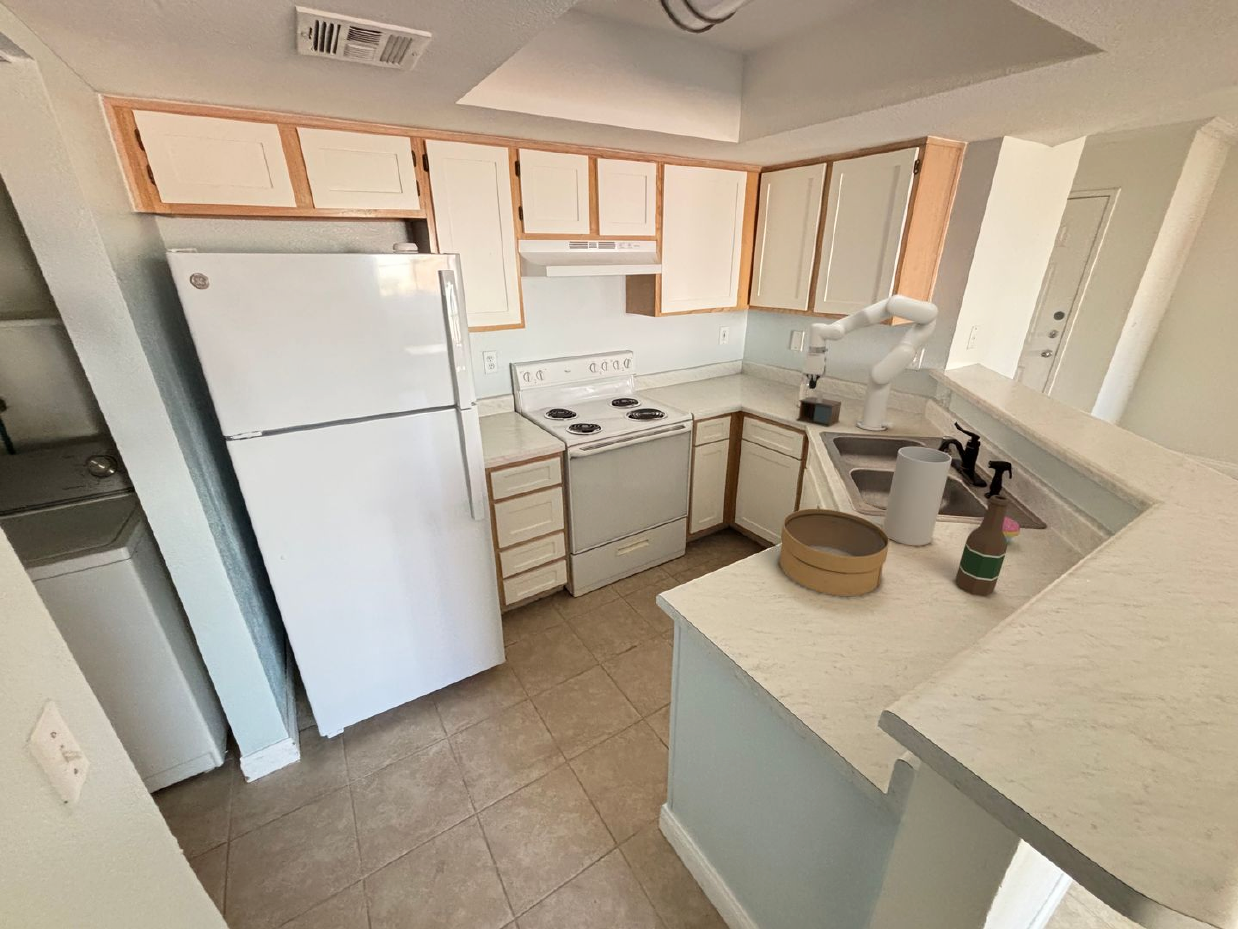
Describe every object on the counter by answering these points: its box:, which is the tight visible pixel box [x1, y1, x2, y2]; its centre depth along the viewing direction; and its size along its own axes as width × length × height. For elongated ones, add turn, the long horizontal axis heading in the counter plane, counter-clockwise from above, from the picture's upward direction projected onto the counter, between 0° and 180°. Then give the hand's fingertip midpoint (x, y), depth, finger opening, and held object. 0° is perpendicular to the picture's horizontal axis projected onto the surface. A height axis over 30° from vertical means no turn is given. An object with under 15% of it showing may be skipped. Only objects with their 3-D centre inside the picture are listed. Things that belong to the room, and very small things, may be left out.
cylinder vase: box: [881, 446, 953, 547], centre depth 140 cm, size 12×12×25 cm
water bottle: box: [797, 368, 814, 408], centre depth 269 cm, size 7×7×25 cm
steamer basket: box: [779, 508, 890, 597], centre depth 127 cm, size 25×25×11 cm
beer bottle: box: [955, 494, 1011, 597], centre depth 117 cm, size 8×8×24 cm
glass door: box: [813, 393, 832, 424], centre depth 241 cm, size 1×8×14 cm, turn 44°
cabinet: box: [796, 396, 842, 428], centre depth 248 cm, size 12×16×10 cm
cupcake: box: [1003, 516, 1021, 543], centre depth 139 cm, size 9×8×12 cm
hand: (812, 388), depth 244 cm, fingers closed
